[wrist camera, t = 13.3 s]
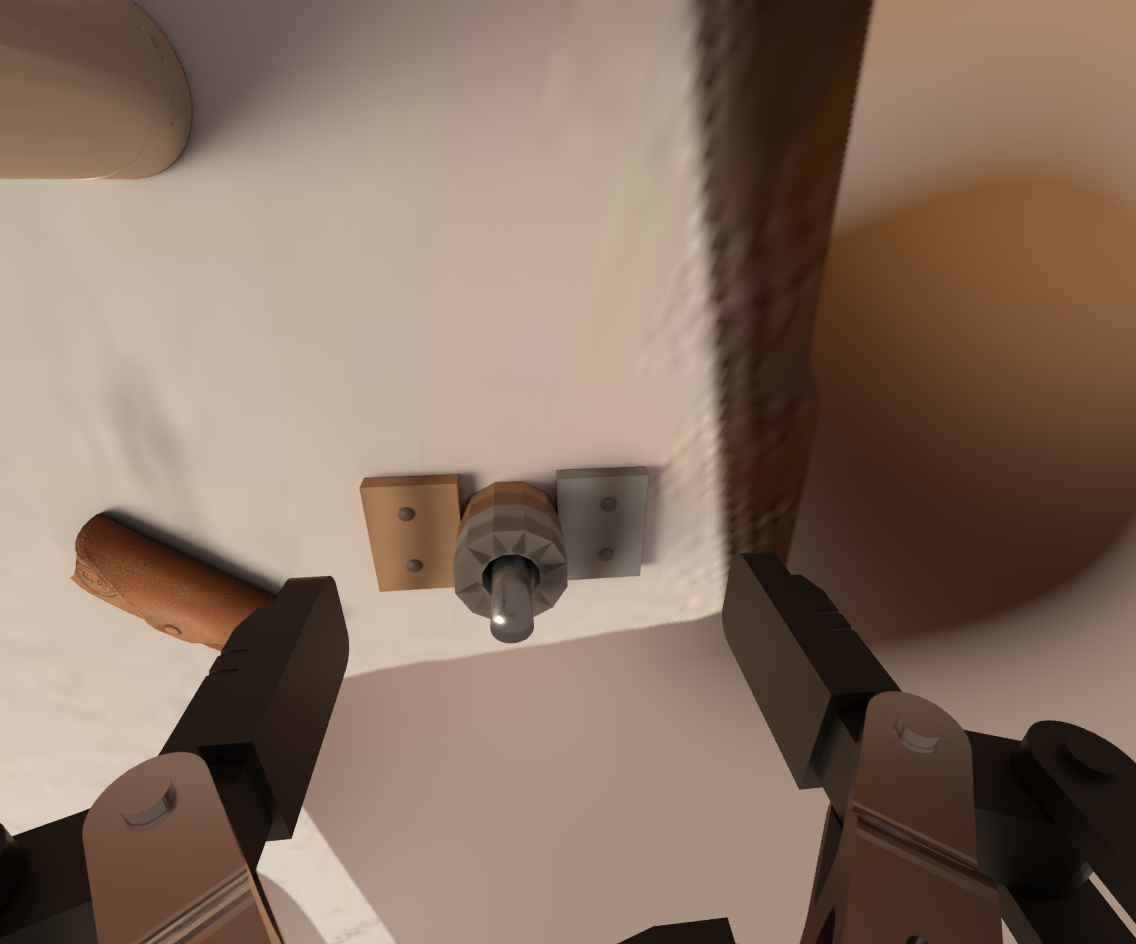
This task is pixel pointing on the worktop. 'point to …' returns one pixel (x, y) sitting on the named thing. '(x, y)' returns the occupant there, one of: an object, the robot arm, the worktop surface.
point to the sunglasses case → (162, 584)
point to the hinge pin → (511, 599)
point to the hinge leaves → (505, 532)
